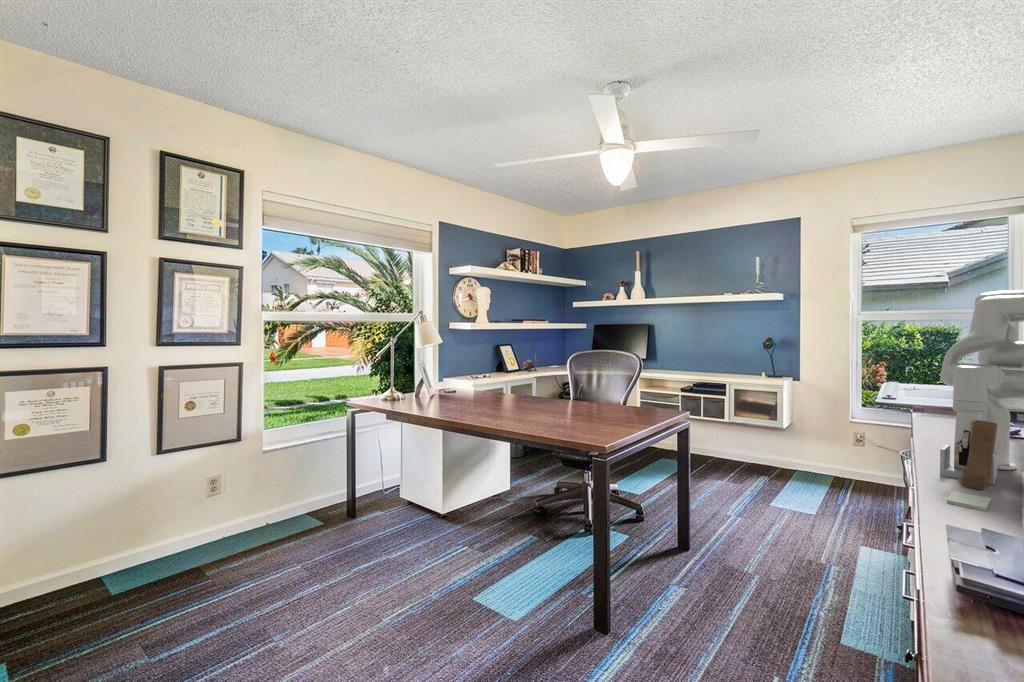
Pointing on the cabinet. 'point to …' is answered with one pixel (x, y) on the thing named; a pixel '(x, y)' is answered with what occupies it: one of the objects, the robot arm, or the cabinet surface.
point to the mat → (969, 500)
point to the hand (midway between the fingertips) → (968, 462)
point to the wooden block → (980, 455)
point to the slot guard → (949, 470)
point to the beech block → (957, 457)
